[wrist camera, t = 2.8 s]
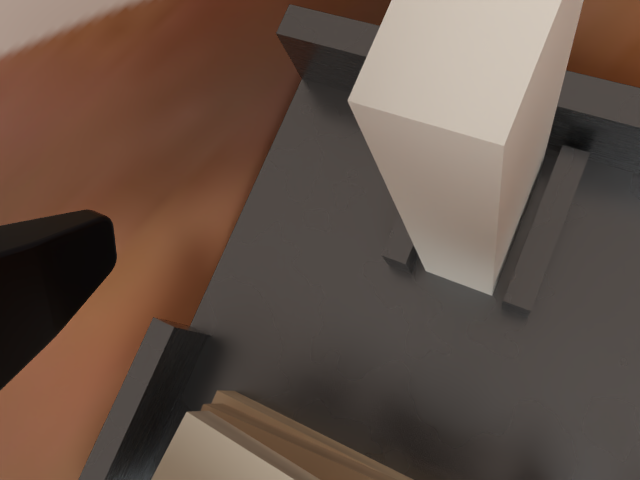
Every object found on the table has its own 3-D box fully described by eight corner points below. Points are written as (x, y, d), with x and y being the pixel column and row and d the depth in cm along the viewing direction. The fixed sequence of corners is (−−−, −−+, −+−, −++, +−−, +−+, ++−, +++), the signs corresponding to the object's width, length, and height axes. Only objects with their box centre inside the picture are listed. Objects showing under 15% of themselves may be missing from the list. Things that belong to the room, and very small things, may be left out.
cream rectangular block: (492, 295, 19) (504, 145, 8) (425, 271, 20) (347, 100, 8) (541, 166, 19) (620, -149, 8) (475, 147, 20) (464, -167, 9)
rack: (562, 886, 16) (587, 1037, 12) (93, 570, 21) (8, 608, 17) (786, 193, 18) (864, 141, 15) (320, 66, 24) (289, 4, 20)
